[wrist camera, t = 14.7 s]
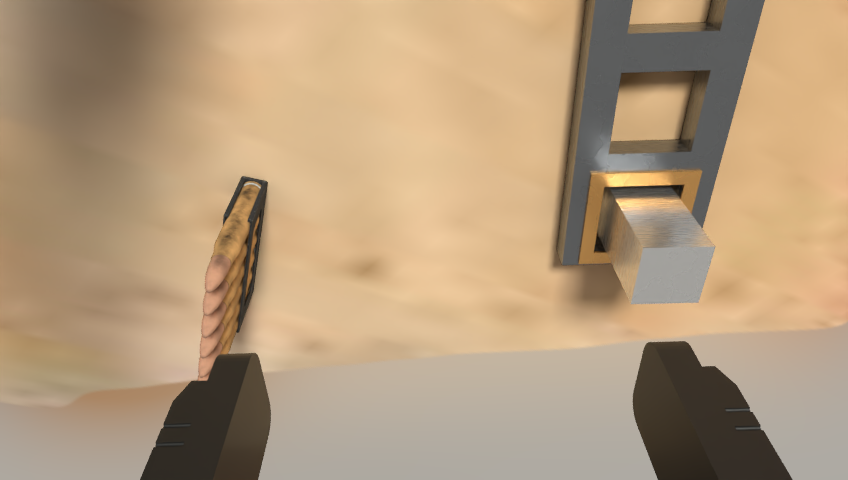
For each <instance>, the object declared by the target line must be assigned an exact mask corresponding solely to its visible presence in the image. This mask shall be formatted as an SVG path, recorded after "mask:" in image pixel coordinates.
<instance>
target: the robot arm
mask: <svg viewBox="0 0 848 480" xmlns="http://www.w3.org/2000/svg"><path fill="white" fill-rule="evenodd" d="M633 409H634V416H635V420H636V423H637V426H638V429H639V431H640V434H641V437H642V439H643V442H644V444H645V447H646V450H647V452H648V455H649V457H650V460H651V463H652V465H653V468H654V470H655V473H656V475H657V478H658V480H792V478H791V476H790V475H789V473H788V471H787V469H786V468H785V466H784V464H783V463H782V461H781V459H780V458H779V456H778V455H777V453H776V451H775V449H774V448H773V446H772V444H771V443H770V441H769V439H768V437H767V436H766V434H765V432H764V431H763V430H761V428H760V424H759V422H758V421H757V419H756V417H755V415H754V414H753V412H750V407H749V405H748V404H747V402H746V400H745V399H744V397H743V395H742V394H741V392H740V390H739V389H738V387H737V385H736V384H735V383H733V382H732V381H731V380H730V379H729V378H728V377H726V376H725V375H724V374H723V373H722V372H721V371H720V370H719V369H717V368H716V367H715V366H706V367H702V366H701V364H700V362H699V361H698V359H697V357H696V355H695V354H694V352H693V350H692V348H691V346H690V345H689V344H688V343H687V342H685V341H679V342H648V343H647V344H646V345H645V348H644V351H643V355H642V359H641V363H640V368H639V371H638V376H637V380H636V384H635V388H634V393H633ZM270 421H271V410H270V402H269V398H268V394H267V389H266V385H265V381H264V377H263V373H262V369H261V365H260V361H259V358H258V355H257V354H256V353H245V354H219V355H218V356H217V357H216V359H215V361H214V364H213V366H212V369H211V372H210V374H209V377H208V380H206V381H191V382H190V383H189V384H188V386H187V387H186V388H185V389H184V390H183V391H182V392H181V393H180V394H179V395H178V396H177V397H176V399H175V400H174V401H173V403H172V405H171V407H170V410H169V412H168V415H167V417H166V419H165V422H164V427H163V428H162V429H161V431H160V434H159V436H158V439H157V441H156V447H154V448H153V450H152V453H151V455H150V457H149V460H148V462H147V464H146V467H145V469H144V472H143V474H142V477H141V479H140V480H258V477H259V473H260V469H261V465H262V460H263V456H264V452H265V448H266V444H267V440H268V435H269V430H270Z"/></svg>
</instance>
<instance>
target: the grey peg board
mask: <svg viewBox="0 0 848 480" xmlns="http://www.w3.org/2000/svg"><path fill="white" fill-rule="evenodd" d="M764 1H765V0H712V2H711V6H710V10H709V15H708V19H707V22H701V23H668V24H635V25H629V21H630V15H631V8H632V2H633V0H586V7H585V15H584V24H583V32H582V41H581V49H580V58H579V66H578V75H577V83H576V92H575V100H574V109H573V117H572V126H571V134H570V143H569V151H568V160H567V168H566V177H565V185H564V194H563V202H562V211H561V219H560V228H559V236H558V245H557V252H558V255H559V258H560V261H561V264H562V265H585V264H612V263H611V261H610V259H609V257H608V255H607V252H606V250H605V248H604V246H603V244H602V242H601V240H600V238H599V236H596V235H597V229H598V223H599V216H600V210H601V204H602V198H603V191H604V187H619V186H652V185H670V186H671V187H672V189H673V190H674V191H675V193H676V194H677V195H678V197H679V198H680V199H681V201H682V202H683V203H684V205H685V206H686V208H687V209H688V210H689V212H690V213H691V214H692V216H693V217H694V218H695V220H696V221H697V222H698V224H699V225H700V226H701V228H703V224H704V221H705V217H706V213H707V210H708V206H709V202H710V199H711V195H712V191H713V188H714V184H715V180H716V177H717V173H718V169H719V166H720V162H721V158H722V155H723V151H724V147H725V144H726V140H727V137H728V133H729V129H730V126H731V122H732V118H733V115H734V111H735V107H736V104H737V100H738V96H739V93H740V89H741V85H742V82H743V78H744V74H745V71H746V67H747V63H748V60H749V56H750V52H751V49H752V45H753V41H754V38H755V34H756V30H757V27H758V23H759V19H760V16H761V12H762V8H763V5H764ZM664 71H696V72H695V76H694V81H693V85H692V90H691V94H690V98H689V103H688V107H687V112H686V116H685V120H684V125H683V129H682V134H681V138H680V139H679V140H646V141H613V142H610V141H611V135H612V128H613V122H614V116H615V109H616V103H617V97H618V90H619V84H620V78H621V73H631V72H664Z"/></svg>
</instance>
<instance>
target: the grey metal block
mask: <svg viewBox="0 0 848 480" xmlns="http://www.w3.org/2000/svg"><path fill="white" fill-rule="evenodd" d="M597 233H598V235H599V238H600V240H601V242H602V244H603V246H604V248H605V250H606V252H607V255H608V257H609V259H610V261H611V263H612V265H613V267H614V270H615V272H616V274H617V276H618V278H619V280H620V282H621V284H622V287H623V289H624V291H625V293H626V295H627V297H628V299H629V302H630V304H658V303H698V302H699V299H700V296H701V292H702V289H703V286H704V282H705V279H706V276H707V273H708V269H709V266H710V263H711V259H712V256H713V253H714V249H715V245H714V244H713V243H712V241H711V240H710V239H709V237H708V236H707V235H706V233H705V232H704V230H703V229H702V228H701V226H700V225H699V224H698V222H697V221H696V220H695V218H694V217H693V216H692V214H691V213H690V212H689V210H688V209H687V208H686V206H685V205H684V203H683V202H682V201H681V199H680V198H679V197H678V195H677V194H676V193H675V191H674V190H673V189H672V187H671V186H670V185H652V186H619V187H604V191H603V198H602V204H601V210H600V216H599V223H598V229H597Z"/></svg>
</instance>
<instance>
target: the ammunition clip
mask: <svg viewBox="0 0 848 480" xmlns="http://www.w3.org/2000/svg"><path fill="white" fill-rule="evenodd" d="M267 184H268V182H267V181H263V180H258V179H254V178H249V177H244V176H242V178H241V180H240V182H239V184H238V186H237V188H236V190H235V193H234V195H233V197H232V199H231V201H230V203H229V205H228V208H227V210H226V212H225V214H224V219H223V227H222V229H221V231H220V234H219V236H218V238H217V240H216V242H215V245H214V252H213V255H212V257H211V261H210V263H209V266H208V269H207V272H206V277H205V289H206V292H205V296H204V302H203V312H204V315H203V319H202V329H201V332H202V337H201V343H200V359H199V369H198V372H199V376H198V381H206V380H208V377H209V374H210V372H211V369H212V366H213V364H214V361H215V359H216V357H217V356H218V355H219V354H228V352H229V350H230V348H231V345H232V342H233V339H234V337H235V334H236V332H237V333H238V332H239V330H240V327H241V325H242V322H243V319H244V316H245V313H246V310H247V308H248V305H249V302H250V299H251V296H252V293H253V290H254V282H255V275H256V267H257V260H258V252H259V245H260V237H261V229H262V222H263V214H264V207H265V199H266V192H267Z"/></svg>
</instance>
